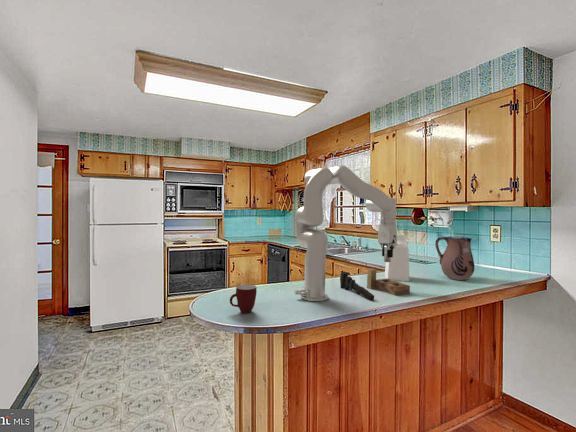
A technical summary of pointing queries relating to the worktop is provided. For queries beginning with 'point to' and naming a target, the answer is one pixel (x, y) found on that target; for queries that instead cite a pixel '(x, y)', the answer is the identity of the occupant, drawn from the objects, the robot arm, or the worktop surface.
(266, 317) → the worktop surface
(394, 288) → the socket block
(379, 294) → the worktop surface
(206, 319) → the worktop surface
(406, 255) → the milk
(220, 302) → the worktop surface
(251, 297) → the mug
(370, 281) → the square bit
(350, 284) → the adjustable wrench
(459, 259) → the ceramic pitcher
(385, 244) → the round bit
